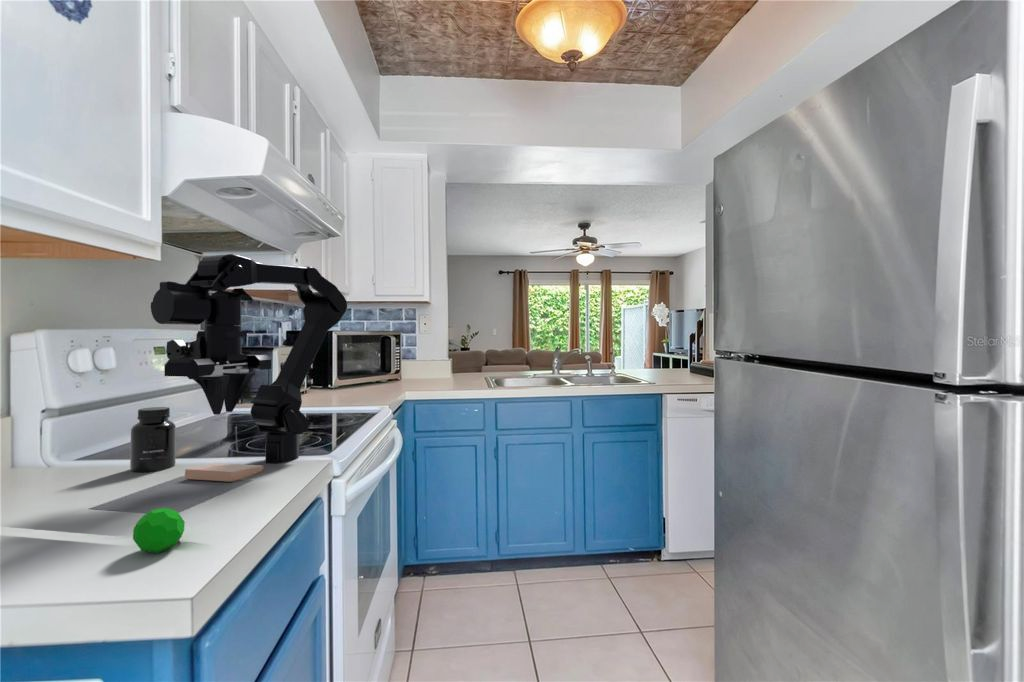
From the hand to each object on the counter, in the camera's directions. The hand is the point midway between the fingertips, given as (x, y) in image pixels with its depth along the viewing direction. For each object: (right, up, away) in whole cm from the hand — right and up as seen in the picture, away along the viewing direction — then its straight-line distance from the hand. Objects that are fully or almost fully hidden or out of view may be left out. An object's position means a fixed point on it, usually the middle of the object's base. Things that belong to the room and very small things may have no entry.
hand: (223, 413), depth 84 cm
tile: (-1, -10, -3) cm, 11 cm away
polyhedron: (+9, -13, -27) cm, 31 cm away
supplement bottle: (-16, -12, +5) cm, 21 cm away
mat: (-1, -12, -9) cm, 15 cm away
